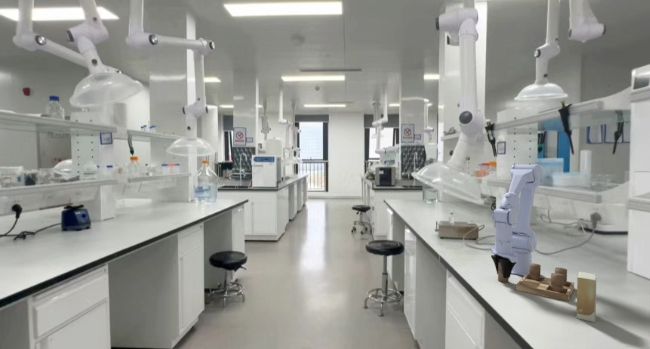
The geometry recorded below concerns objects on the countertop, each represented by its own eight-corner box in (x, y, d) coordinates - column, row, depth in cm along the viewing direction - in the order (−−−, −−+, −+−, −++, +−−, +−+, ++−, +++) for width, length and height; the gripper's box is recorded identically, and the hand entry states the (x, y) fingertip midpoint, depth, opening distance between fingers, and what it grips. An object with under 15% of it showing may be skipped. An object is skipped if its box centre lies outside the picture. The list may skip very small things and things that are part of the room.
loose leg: (499, 278, 133) (499, 260, 132) (509, 280, 130) (509, 262, 130) (496, 281, 130) (497, 262, 130) (507, 283, 128) (507, 264, 128)
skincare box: (577, 311, 104) (578, 270, 103) (595, 315, 101) (596, 273, 101) (576, 318, 99) (576, 276, 98) (595, 323, 96) (596, 279, 96)
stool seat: (526, 279, 132) (526, 260, 132) (574, 288, 122) (574, 268, 122) (516, 290, 121) (516, 270, 121) (568, 301, 111) (568, 279, 111)
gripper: (483, 236, 137) (483, 270, 137) (504, 245, 122) (503, 283, 123) (500, 236, 137) (500, 269, 138) (523, 244, 123) (523, 282, 123)
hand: (503, 276), depth 130 cm, fingers closed on loose leg, 3 cm apart
